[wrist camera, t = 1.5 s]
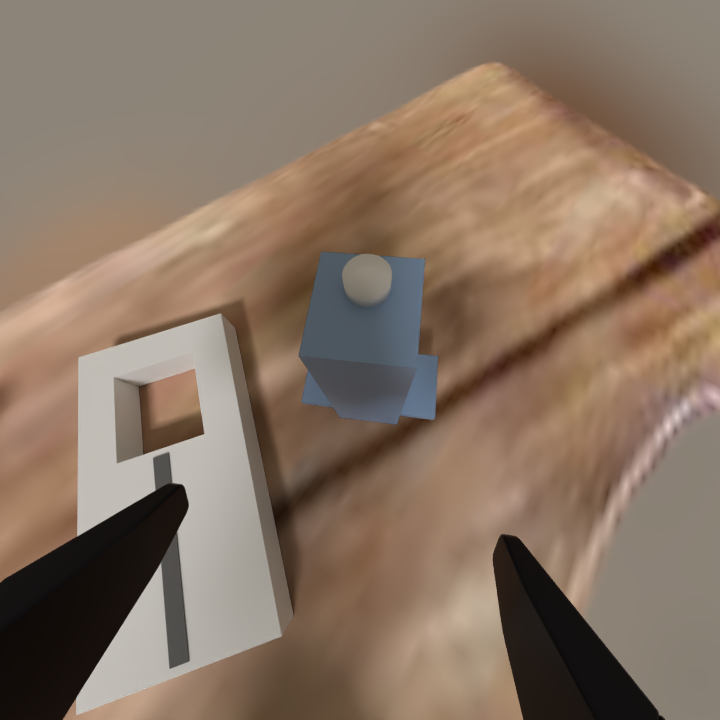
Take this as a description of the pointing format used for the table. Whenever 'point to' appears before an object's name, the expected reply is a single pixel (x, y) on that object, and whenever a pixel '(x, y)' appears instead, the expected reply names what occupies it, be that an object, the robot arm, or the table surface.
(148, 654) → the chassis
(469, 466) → the table surface
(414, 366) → the servo
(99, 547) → the robot arm
